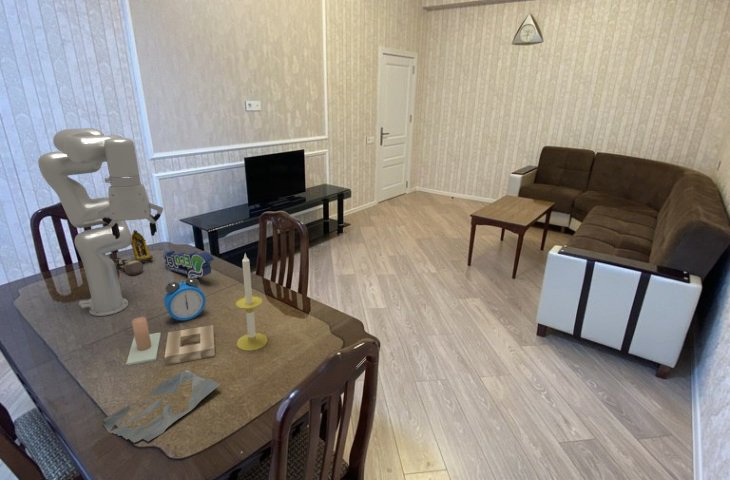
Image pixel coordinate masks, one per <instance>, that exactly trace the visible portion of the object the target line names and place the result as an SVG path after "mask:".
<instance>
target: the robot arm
mask: <svg viewBox="0 0 730 480" xmlns="http://www.w3.org/2000/svg"><path fill="white" fill-rule="evenodd" d="M52 141H53V146H54V147H55V148H56V149H57V150H58V151H57V150H56V151H50V152H47V153H44V154H41V155H40V156H39V158H38V160H37V161H38V162H37V164H38V169H39V171H40V174H41V176H42V177H43V179H44V180H45V182H46V183H47V185H49V187H50V188H51V189H52V190H53V191H54V192H55V193H56V195H57V197H58V198H59V201H60V203H61V205H62V207H63V209H64V211H65V215H66V216H67V219H68V220H69V223H70V224H71V225H72V226H73V227H75V228H77V229H82V228H83V229H84V228H89V227H95V226H98V225H104V224H107V225H106V226H100V227H95V228H91V229H86V230H84V231H81V232H79V233H78V234H77V235H76V236H75V238H74V245H75V248H76V250H77V252H78V254H79V257H80V259H81V263H82V265H83V266H82V267H83V268H84V273H85V274H84V275H85V277H86V281H87V287H88V289H89V294H90V298H89V299H87V300H85V299H84V300H79V301H78V304H79V306H80V307H81V309H85V308H88V312H89V314H90V315H92V316H95V317H104V316H105V317H106V316H111V315H114V314H118V313H119V312H121V311H123V310H125V309H126V308H127V307H128V306H129V301H128V299H126V298H125V297H124V298H123V295H122V289H121V285H120V281H119V274H118V271H117V264H116V262H114V261H113V260H114V259H112V258H110V257H108V256H107V254H108V253H111V252H116V251H119V250H123V249H125V248H128V247H129V246H132V245H131V243H132V236H131V234H132V233H131V230H130V228H129V226H128V224H127V221H135V220H136V221H138V220H145V219H146V220H147V221H149V229H150V235H151V236H152V237H155V235H156V233H157V232H158V230H157V221H158V220H159V219H160V218H161V216H162V214H163V210H164V207H163V206H159V205H156V204H154V203H151V202H150V201H149V197H148V193H147V190H146V187H145V185H144V184H143V183H142V181H141V176H140V170H139V164H138V158H137V153H136V151H137V150H136V146H135V142H134V141H133V139H131V138H127V137H123V136H122V135H117V134H109V135H107V134H106V135H105V133H103V132H102V131H101V130H100V129H98V128H94V127H93V128H92V127H89V128H88V127H87V128H84V127H83V128H66V129H61V130H59V131H58V132H56V133H55V134H54V136H53V140H52ZM103 163H107V170H108V174H109V177H104V183H105V184H107V183H108V184H110V186H108V191H107V194H108V196H107V197H106V196H104V197H98V198H91V197H90V196H89V194H88V191H87V189H86V187H85V186H84V185H83V184H81V183H80V182H79V181H77V180H76V179H73V178H71V177H69V176H76V175H83V174H92V173H96V172H98V171H100V169H101V168H102V166H103ZM151 210H153V211H156V214H155V215H153V214H152V212H151Z"/></svg>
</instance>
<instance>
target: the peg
mask: <svg viewBox="0 0 730 480" xmlns="http://www.w3.org/2000/svg"><path fill="white" fill-rule="evenodd" d="M131 325H132V329H133V334H134V337H135V340H136V345H137V349H138V350H139V351H144V350H147V349H149V348H150V347H151V341H150V336H149V334H150V332H149V325H148V320H147V317H145V316H139V317H138V316H137V317H135V318H133V319H132V320H131Z"/></svg>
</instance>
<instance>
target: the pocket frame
mask: <svg viewBox="0 0 730 480" xmlns="http://www.w3.org/2000/svg"><path fill="white" fill-rule="evenodd" d="M197 342H199V343H197ZM192 343H195V344H192ZM185 344H188V345H185ZM215 350H216V349H215V332H214V325H213V324H210V325H206V326H199V327H192V328H188V329H187V328H186V329H181V330H174V331H168V332H167V338H166V344H165V353H164V362H165V366H169V365H174V364H181V363H185V362H190V361H196V360H201V359H207V358H213V357H215V356H216V355H215V354H216V353H215Z"/></svg>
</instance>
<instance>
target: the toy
mask: <svg viewBox="0 0 730 480" xmlns="http://www.w3.org/2000/svg"><path fill="white" fill-rule="evenodd" d="M112 260H113V261H114V263H115V264H116V269H118V270H124V271H125V272H126V273H127V274H128V275H130V276H135V275H137V274H140V273H142V272H143V271H144V264H143V263H142V261H136V260H132V261H129V262H128V260H127V259H122V257H116V258H115V259H112Z"/></svg>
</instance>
